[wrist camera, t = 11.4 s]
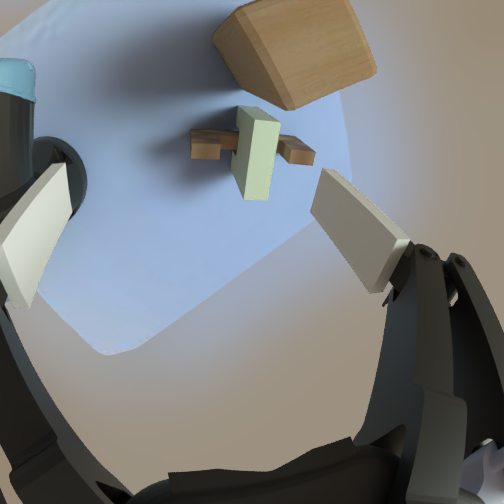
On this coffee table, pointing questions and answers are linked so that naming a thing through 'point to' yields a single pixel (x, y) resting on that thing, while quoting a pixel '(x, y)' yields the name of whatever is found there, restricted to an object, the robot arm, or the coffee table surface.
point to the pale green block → (255, 152)
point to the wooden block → (294, 49)
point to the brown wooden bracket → (213, 141)
